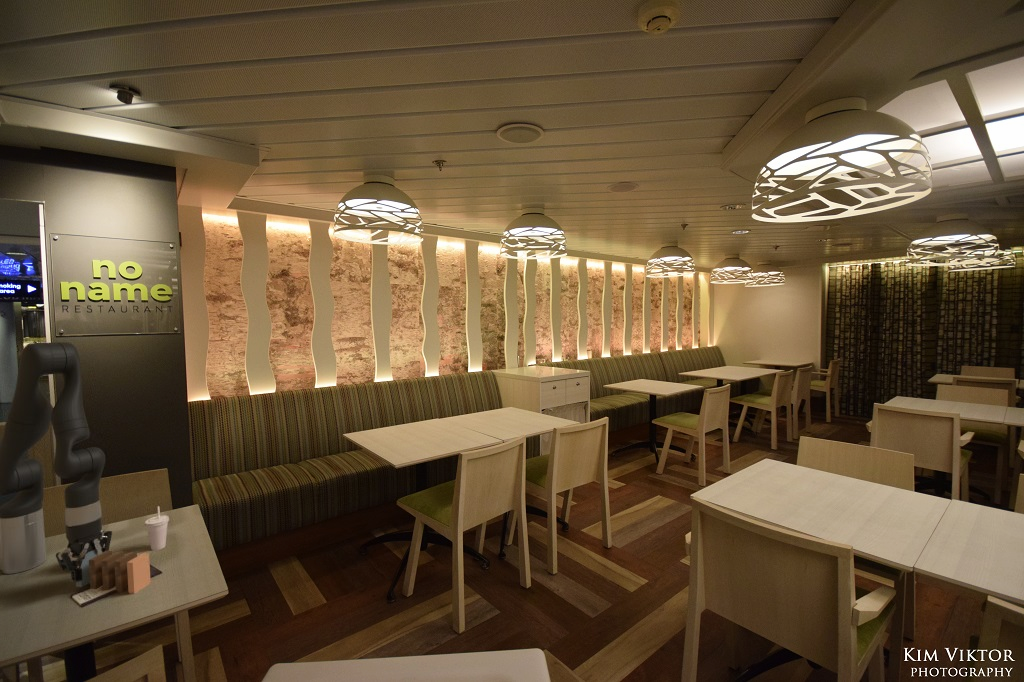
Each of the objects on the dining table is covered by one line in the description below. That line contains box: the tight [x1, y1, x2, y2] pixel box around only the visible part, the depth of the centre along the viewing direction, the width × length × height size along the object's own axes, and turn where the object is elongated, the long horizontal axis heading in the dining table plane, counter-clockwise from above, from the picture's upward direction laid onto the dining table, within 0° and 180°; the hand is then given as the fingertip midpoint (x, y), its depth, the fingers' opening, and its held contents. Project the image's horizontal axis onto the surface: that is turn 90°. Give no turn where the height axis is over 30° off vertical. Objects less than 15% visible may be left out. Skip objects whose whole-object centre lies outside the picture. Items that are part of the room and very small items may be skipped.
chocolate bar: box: [70, 564, 163, 608], centre depth 129 cm, size 9×1×18 cm
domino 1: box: [74, 550, 97, 588], centre depth 129 cm, size 2×5×9 cm, turn 175°
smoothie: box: [144, 505, 170, 551], centre depth 149 cm, size 6×6×14 cm
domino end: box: [127, 552, 152, 595], centre depth 127 cm, size 2×5×9 cm, turn 175°
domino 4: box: [114, 551, 138, 593], centre depth 128 cm, size 2×5×9 cm, turn 174°
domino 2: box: [89, 550, 113, 589], centre depth 129 cm, size 2×5×9 cm, turn 174°
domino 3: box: [102, 550, 125, 590], centre depth 128 cm, size 2×5×9 cm, turn 175°
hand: (87, 575), depth 129 cm, fingers closed on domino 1, 4 cm apart
